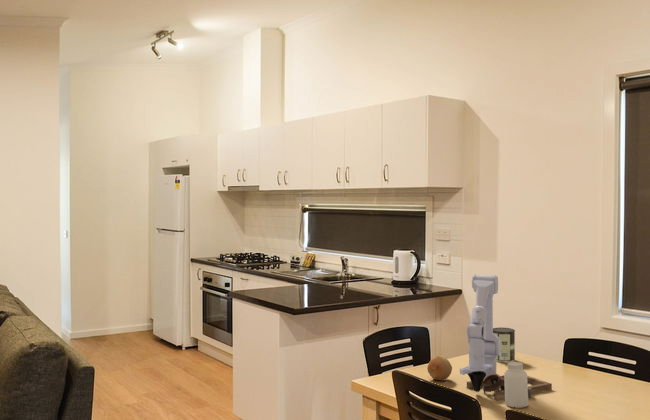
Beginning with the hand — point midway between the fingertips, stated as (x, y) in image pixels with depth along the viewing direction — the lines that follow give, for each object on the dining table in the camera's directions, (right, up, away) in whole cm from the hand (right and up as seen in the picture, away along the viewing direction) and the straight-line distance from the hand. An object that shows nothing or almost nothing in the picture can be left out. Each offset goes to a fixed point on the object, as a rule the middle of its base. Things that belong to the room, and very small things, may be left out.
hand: (476, 391), depth 232 cm
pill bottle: (+11, -2, -12) cm, 17 cm away
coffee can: (+25, -1, +51) cm, 57 cm away
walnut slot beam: (+14, -1, +7) cm, 15 cm away
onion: (-10, -1, +19) cm, 22 cm away
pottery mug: (+8, -2, +2) cm, 9 cm away
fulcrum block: (+18, -1, -3) cm, 19 cm away
